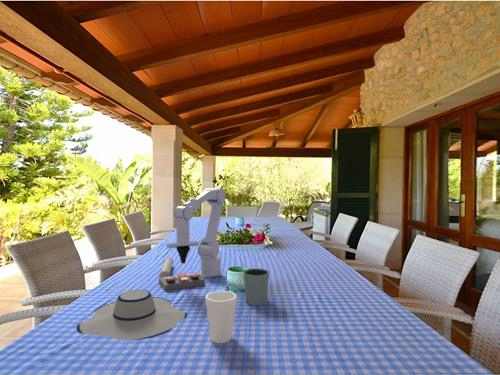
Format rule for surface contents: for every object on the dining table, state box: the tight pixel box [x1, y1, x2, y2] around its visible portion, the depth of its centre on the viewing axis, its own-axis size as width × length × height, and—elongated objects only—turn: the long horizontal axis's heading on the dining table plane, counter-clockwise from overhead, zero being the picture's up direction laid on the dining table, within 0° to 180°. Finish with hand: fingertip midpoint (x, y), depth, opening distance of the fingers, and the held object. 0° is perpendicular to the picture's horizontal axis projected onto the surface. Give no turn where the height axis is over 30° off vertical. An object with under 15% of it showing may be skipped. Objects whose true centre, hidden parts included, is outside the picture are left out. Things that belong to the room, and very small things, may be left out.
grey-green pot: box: [243, 268, 270, 307], centre depth 135 cm, size 10×10×12 cm
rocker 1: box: [176, 272, 189, 282], centre depth 154 cm, size 4×6×1 cm, turn 27°
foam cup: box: [205, 290, 237, 344], centre depth 104 cm, size 10×9×13 cm
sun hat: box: [76, 289, 188, 341], centre depth 119 cm, size 36×36×9 cm
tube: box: [158, 257, 174, 279], centre depth 175 cm, size 5×5×25 cm
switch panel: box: [158, 272, 206, 292], centre depth 157 cm, size 18×12×3 cm, turn 117°
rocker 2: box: [189, 273, 202, 277], centre depth 157 cm, size 4×6×1 cm, turn 27°
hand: (183, 262), depth 154 cm, fingers closed
